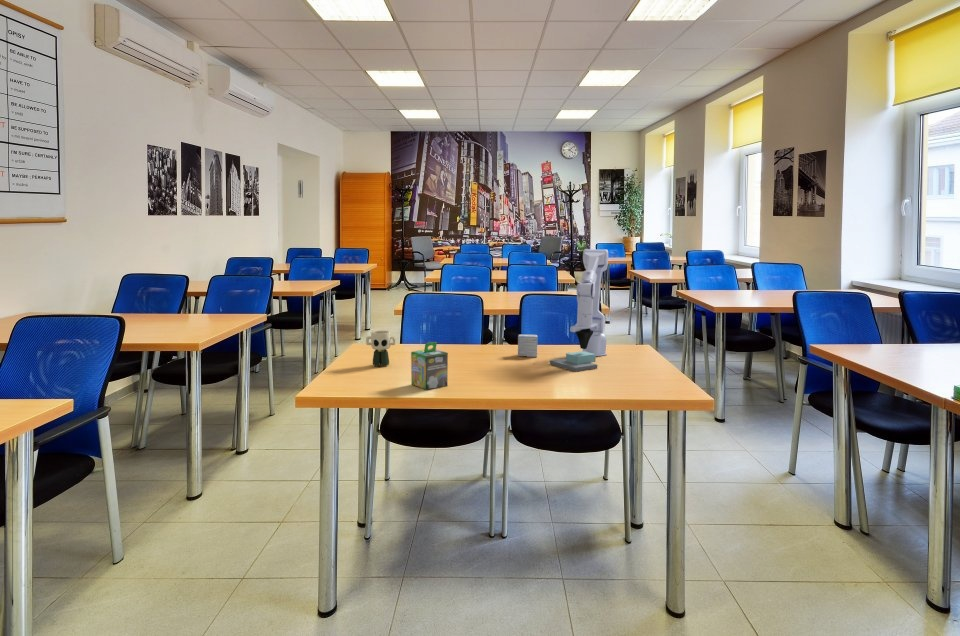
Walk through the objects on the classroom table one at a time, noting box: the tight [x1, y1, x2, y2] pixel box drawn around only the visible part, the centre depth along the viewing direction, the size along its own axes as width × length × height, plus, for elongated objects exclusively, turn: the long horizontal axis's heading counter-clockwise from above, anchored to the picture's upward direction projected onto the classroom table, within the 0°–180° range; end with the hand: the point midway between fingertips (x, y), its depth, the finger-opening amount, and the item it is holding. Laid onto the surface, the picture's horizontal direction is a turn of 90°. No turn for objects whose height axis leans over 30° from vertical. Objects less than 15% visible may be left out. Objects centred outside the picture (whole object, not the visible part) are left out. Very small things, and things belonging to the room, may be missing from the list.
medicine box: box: [517, 334, 538, 358], centre depth 263 cm, size 8×4×9 cm, turn 84°
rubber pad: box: [549, 357, 598, 373], centre depth 246 cm, size 11×15×2 cm
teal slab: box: [565, 350, 597, 364], centre depth 247 cm, size 3×7×9 cm
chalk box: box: [410, 341, 449, 391], centre depth 212 cm, size 9×9×15 cm
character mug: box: [365, 329, 396, 367], centre depth 241 cm, size 11×7×13 cm, turn 94°
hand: (583, 348), depth 247 cm, fingers closed
